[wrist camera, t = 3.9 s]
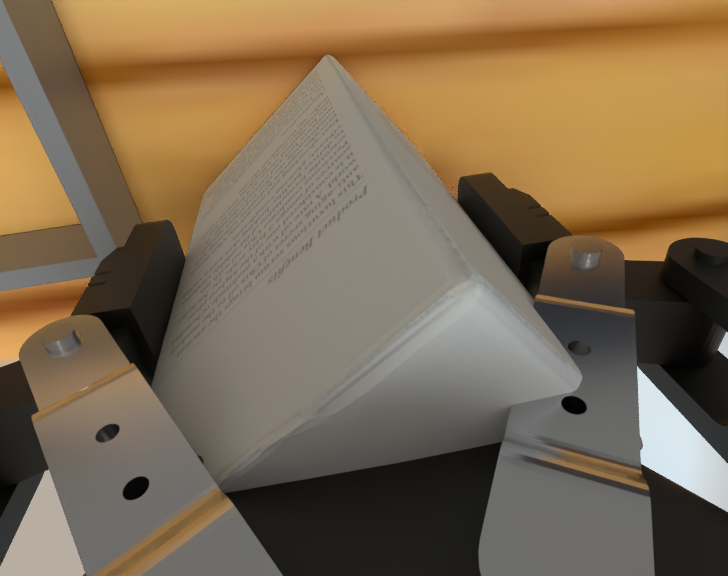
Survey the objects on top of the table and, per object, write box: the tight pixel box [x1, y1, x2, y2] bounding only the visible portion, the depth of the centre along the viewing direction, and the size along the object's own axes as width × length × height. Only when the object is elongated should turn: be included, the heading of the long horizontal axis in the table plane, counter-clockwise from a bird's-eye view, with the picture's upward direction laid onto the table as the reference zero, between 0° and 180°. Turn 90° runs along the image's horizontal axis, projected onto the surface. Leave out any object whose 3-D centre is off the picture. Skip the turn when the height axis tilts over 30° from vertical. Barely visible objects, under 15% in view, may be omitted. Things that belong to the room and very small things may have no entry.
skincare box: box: [151, 55, 643, 493], centre depth 11 cm, size 6×4×12 cm
